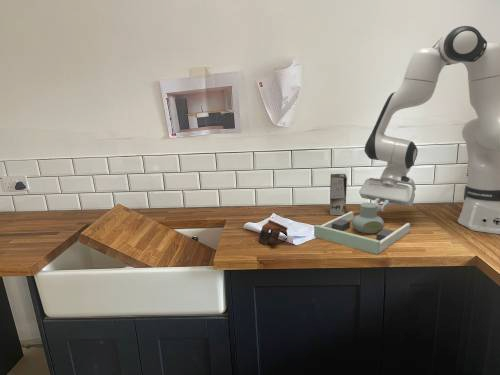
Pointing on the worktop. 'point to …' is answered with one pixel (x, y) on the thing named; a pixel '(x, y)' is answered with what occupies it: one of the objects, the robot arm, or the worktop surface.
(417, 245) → the worktop surface
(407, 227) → the frame
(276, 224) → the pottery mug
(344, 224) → the blocks
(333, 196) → the coffee box
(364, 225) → the air freshener
